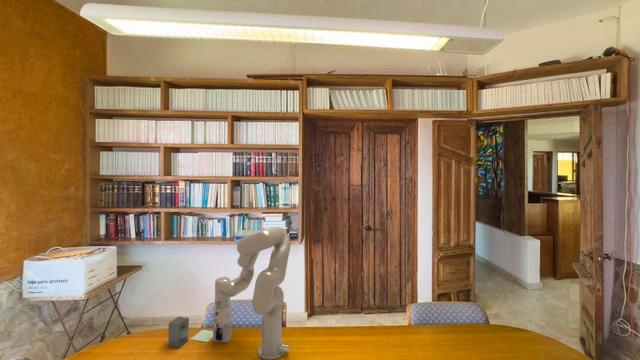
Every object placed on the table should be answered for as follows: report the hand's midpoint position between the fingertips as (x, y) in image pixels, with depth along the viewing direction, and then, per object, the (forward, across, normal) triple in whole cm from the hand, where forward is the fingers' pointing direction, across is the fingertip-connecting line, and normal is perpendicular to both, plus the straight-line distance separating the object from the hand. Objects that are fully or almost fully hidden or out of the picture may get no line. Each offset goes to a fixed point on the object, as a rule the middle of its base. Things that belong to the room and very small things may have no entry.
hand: (222, 337), depth 149 cm
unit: (+2, -9, +19) cm, 21 cm away
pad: (+2, +1, +11) cm, 11 cm away
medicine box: (+2, 0, 0) cm, 2 cm away
